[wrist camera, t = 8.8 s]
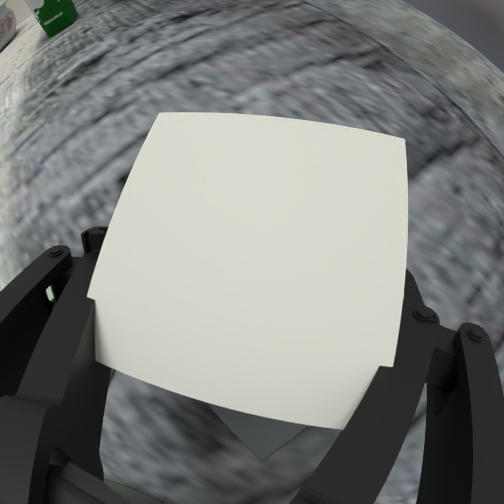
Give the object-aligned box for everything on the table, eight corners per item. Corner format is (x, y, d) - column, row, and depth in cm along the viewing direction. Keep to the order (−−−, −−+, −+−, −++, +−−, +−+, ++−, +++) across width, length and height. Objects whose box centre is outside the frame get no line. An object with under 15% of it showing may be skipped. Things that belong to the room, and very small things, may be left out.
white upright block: (324, 382, 16) (376, 432, 5) (192, 353, 17) (74, 350, 7) (347, 252, 18) (404, 139, 8) (223, 231, 19) (159, 112, 9)
